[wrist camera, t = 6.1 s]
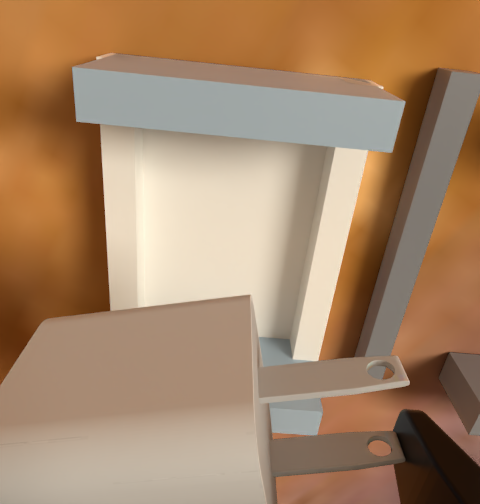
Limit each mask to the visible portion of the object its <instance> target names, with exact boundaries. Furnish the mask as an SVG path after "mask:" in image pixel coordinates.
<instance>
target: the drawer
mask: <svg viewBox="0 0 480 504" xmlns="http://www.w3.org/2000/svg"><path fill="white" fill-rule="evenodd" d="M72 73H73V86H74V98H75V110H76V122H85V123H95V124H100V132H101V150H102V168H103V186H104V204H105V221H106V239H107V257H108V275H109V293H110V311H115V310H123V309H131V308H140V307H148V306H157V305H165V304H174V303H182V302H190V301H199V300H207V299H216V298H224V297H233V296H241V295H250V294H251V295H252V299H253V304H254V310H255V317H256V323H257V329H258V336H259V342H260V348H261V355H262V361H263V367H267V366H276V365H286V364H295V363H304V362H313V361H318V359H319V354H320V350H321V346H322V342H323V338H324V334H325V329H326V325H327V321H328V317H329V313H330V309H331V304H332V300H333V296H334V292H335V288H336V283H337V279H338V275H339V271H340V267H341V263H342V258H343V254H344V250H345V246H346V242H347V237H348V233H349V229H350V225H351V221H352V217H353V212H354V208H355V204H356V200H357V196H358V191H359V187H360V183H361V179H362V175H363V171H364V166H365V162H366V158H367V154H368V150H369V151H379V152H389V153H392V151H393V147H394V144H395V140H396V136H397V132H398V129H399V125H400V121H401V117H402V113H403V110H404V106H405V102H406V101H404V100H402V99H400V98H398V97H396V96H394V95H392V94H390V93H389V92H387V91H385V90H383V86H381V85H379V84H377V83H375V82H373V81H371V80H365V79H355V78H346V77H336V76H327V75H317V74H308V73H298V72H289V71H279V70H269V69H260V68H250V67H241V66H231V65H222V64H212V63H203V62H193V61H184V60H174V59H165V58H155V57H146V56H136V55H127V54H117V53H109V54H105V55H101V56H98V57H96V60H94V61H91V62H87V63H84V64H81V65H77V66H74V67H72ZM269 407H270V416H271V426H272V432H273V433H287V434H301V435H314V436H315V435H317V433H318V429H319V425H320V422H321V418H322V414H323V409H322V404H321V399H320V398H313V399H303V400H293V401H283V402H273V403H269Z"/></svg>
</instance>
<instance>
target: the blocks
mask: <svg viewBox="0 0 480 504" xmlns="http://www.w3.org/2000/svg"><path fill="white" fill-rule="evenodd" d="M479 94H480V73H476V72H472V71H464V70H455V69H445V68H438V70H437V74H436V77H435V81H434V84H433V87H432V91H431V94H430V98H429V101H428V105H427V108H426V112H425V115H424V118H423V122H422V125H421V129H420V132H419V136H418V139H417V143H416V146H415V150H414V153H413V156H412V160H411V163H410V167H409V170H408V174H407V177H406V181H405V184H404V187H403V191H402V194H401V198H400V201H399V205H398V208H397V212H396V215H395V218H394V222H393V225H392V229H391V232H390V236H389V239H388V243H387V246H386V249H385V253H384V256H383V260H382V263H381V267H380V270H379V274H378V277H377V281H376V284H375V287H374V291H373V294H372V298H371V301H370V305H369V308H368V312H367V315H366V318H365V322H364V325H363V329H362V332H361V336H360V339H359V343H358V346H357V349H356V353H355V356H354V357H374V356H390V355H391V352H392V349H393V346H394V343H395V340H396V337H397V334H398V331H399V328H400V325H401V323H402V320H403V317H404V314H405V311H406V308H407V305H408V302H409V299H410V296H411V293H412V290H413V287H414V284H415V281H416V278H417V276H418V273H419V270H420V267H421V264H422V261H423V258H424V255H425V252H426V249H427V246H428V243H429V240H430V237H431V234H432V232H433V229H434V226H435V223H436V220H437V217H438V214H439V211H440V208H441V205H442V202H443V199H444V196H445V193H446V190H447V188H448V185H449V182H450V179H451V176H452V173H453V170H454V167H455V164H456V161H457V158H458V155H459V152H460V149H461V146H462V144H463V141H464V138H465V135H466V132H467V129H468V126H469V123H470V120H471V117H472V114H473V111H474V108H475V105H476V102H477V100H478V97H479ZM385 369H386V367H384V366H374V367H371V368H370V369H369V370H368V371H367V372H368V374H369V375H370V376H372V377H373V378H376V379H380V380H382V378H383V375H384V372H385ZM439 380H440V382H441V384H442V386H443V387H444V389H445V391H446V393H447V395H448V397H449V399H450V400H451V402H452V404H453V406H454V408H455V410H456V412H457V413H458V415H459V417H460V419H461V421H462V423H463V425H464V426H465V428H466V430H467V432H468V434H469V435H479V436H480V355H477V354H464V353H452V352H449V354H448V357H447V359H446V361H445V364H444V366H443V368H442V371H441V373H440V375H439Z"/></svg>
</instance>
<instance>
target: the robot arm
mask: <svg viewBox="0 0 480 504" xmlns="http://www.w3.org/2000/svg"><path fill="white" fill-rule="evenodd" d="M393 431H394V432H396V434H397V437H398V440H399V443H400V445H401V448H402V451H403V454H404V457H405V459H406V460H405V462H402V463H397V464H394V469H395V474H396V480H397V486H398V491H399V497H400V502H401V504H480V466H479V465H478V464H477V463H476V462H475V461H473V460H472V459H471V458H470V457H469V456H468V455H467V454H466V453H465V452H464V451H463V450H462V449H461V448H460V447H459V446H458V445H457V444H456V443H455V442H454V441H453V440H452V439H451V438H450V437H449V436H448V435H447V434H446V433H445V432H444V431H443V430H442V429H441V428H440V427H439V426H438V425H437V424H436V423H435V422H434V421H433V420H432V419H431V418H430V417H429V416H428V415H427V414H425V413H424V412H423V411H420V410H409V409H404V410H402V411H401V412H400V414H399V416H398V419H397V421H396V424H395V426H394V429H393ZM391 452H392V448H391Z"/></svg>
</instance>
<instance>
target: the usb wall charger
mask: <svg viewBox="0 0 480 504" xmlns="http://www.w3.org/2000/svg"><path fill="white" fill-rule="evenodd" d="M374 366H384V367H387V368H389V369H390V370H392V371H393V373H394V375H393V376H392V377H391V378H389V379H385V380H380V379H376V378H373V377H372V376H370V375H369V374H368V372H367V371H368V370H369V369H370V368H371V367H374ZM409 384H410V381H409V379H408V377H407V375H406V372H405V370H404V368H403V366H402V364H401V361H400V359H399V357H398V356H374V357H354V358H341V359H332V360H322V361H313V362H304V363H295V364H286V365H276V366H267V367H263V361H262V355H261V348H260V342H259V336H258V329H257V323H256V317H255V310H254V304H253V299H252V295H251V294H250V295H241V296H233V297H224V298H216V299H207V300H199V301H190V302H182V303H174V304H165V305H157V306H148V307H140V308H131V309H123V310H115V311H106V312H98V313H89V314H81V315H72V316H64V317H56V318H48V319H46V320H44V321H43V322H42V323H41V324H40V325H39V327H38V328H37V330H36V331H35V333H34V335H33V336H32V338H31V339H30V341H29V342H28V344H27V345H26V347H25V348H24V350H23V351H22V353H21V354H20V356H19V358H18V359H17V361H16V362H15V364H14V365H13V367H12V368H11V370H10V371H9V373H8V374H7V376H6V377H5V379H4V380H3V382H2V384H1V385H0V504H277V492H276V479H275V477H280V476H291V475H303V474H314V473H325V472H337V471H348V470H359V469H365V468H372V467H378V466H385V465H391V464H397V463H402V462H405V460H406V459H405V457H404V454H403V451H402V448H401V445H400V443H399V440H398V437H397V434H396V432H394V431H375V432H346V433H336V434H326V435H315V436H305V437H294V438H284V439H274V440H273V437H272V426H271V416H270V407H269V403H273V402H283V401H293V400H303V399H313V398H323V397H333V396H343V395H353V394H361V393H367V392H373V391H380V390H386V389H392V388H399V387H405V386H407V385H409ZM374 440H381V441H384V442H386V443H387V444H389V445H390V447H391V448H392V452H391V453H390V454H389V455H387V456H384V457H380V456H376V455H374V454H372V453H371V452H370V451H369V449H368V444H369V443H370V442H372V441H374Z"/></svg>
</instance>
